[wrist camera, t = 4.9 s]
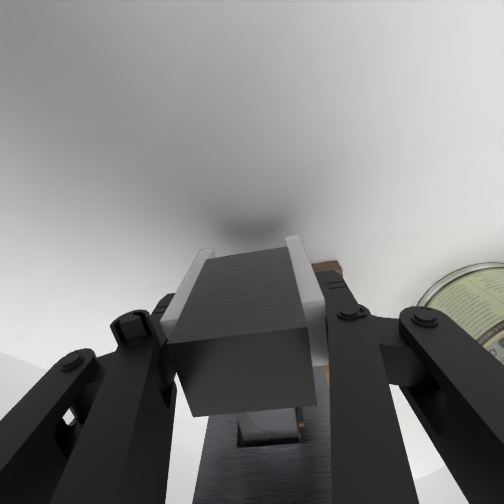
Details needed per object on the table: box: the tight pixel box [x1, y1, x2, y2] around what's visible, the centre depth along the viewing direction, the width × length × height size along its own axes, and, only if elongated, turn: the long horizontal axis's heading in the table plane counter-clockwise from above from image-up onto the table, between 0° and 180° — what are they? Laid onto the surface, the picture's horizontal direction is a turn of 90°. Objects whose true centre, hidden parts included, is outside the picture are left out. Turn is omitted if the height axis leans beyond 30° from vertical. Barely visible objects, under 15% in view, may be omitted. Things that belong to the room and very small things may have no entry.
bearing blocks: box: [192, 366, 332, 504], centre depth 18 cm, size 12×6×14 cm, turn 10°
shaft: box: [167, 247, 317, 448], centre depth 14 cm, size 20×4×6 cm, turn 10°
